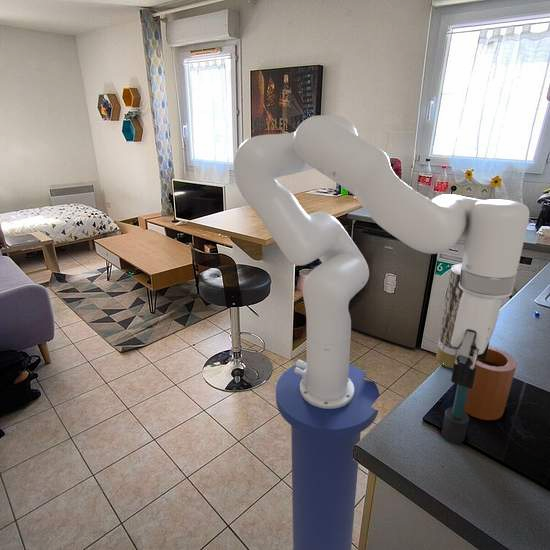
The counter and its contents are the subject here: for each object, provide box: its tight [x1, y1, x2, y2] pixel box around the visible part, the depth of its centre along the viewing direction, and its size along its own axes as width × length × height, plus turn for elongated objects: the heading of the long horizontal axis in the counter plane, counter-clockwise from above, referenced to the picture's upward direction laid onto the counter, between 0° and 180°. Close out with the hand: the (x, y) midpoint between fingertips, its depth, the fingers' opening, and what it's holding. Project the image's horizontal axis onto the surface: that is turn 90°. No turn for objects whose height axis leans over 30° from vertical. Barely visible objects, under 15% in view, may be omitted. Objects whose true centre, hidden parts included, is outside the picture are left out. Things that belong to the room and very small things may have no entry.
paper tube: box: [435, 263, 463, 369], centre depth 86 cm, size 7×7×25 cm
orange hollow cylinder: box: [464, 345, 518, 421], centre depth 75 cm, size 9×9×12 cm
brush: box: [441, 360, 472, 444], centre depth 66 cm, size 4×4×17 cm
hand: (469, 369), depth 64 cm, fingers open, 9 cm apart
